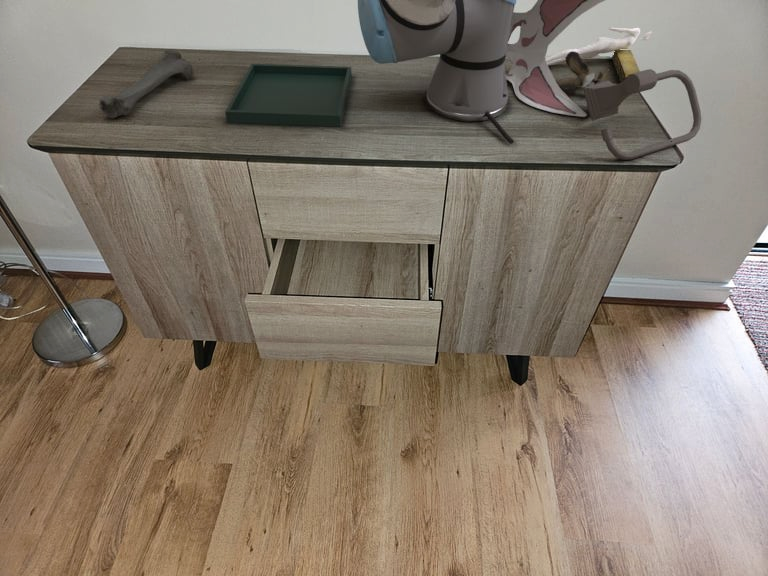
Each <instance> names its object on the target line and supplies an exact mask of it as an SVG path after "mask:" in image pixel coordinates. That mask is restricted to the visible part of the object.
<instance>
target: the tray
mask: <svg viewBox="0 0 768 576" xmlns="http://www.w3.org/2000/svg"><path fill="white" fill-rule="evenodd" d="M352 79H353V77H352V66H337V65H335V66H334V65H306V64H305V65H303V64H272V63H251V64H250V65H249V67H248V69H247V71H246V72H245V75H244V76H243V78H242V80H241V82H240V84H239V85H238V87H237V89H236V91H235V92H234V95H233V96H232V98H231V100H230V101H229V104H228V105H227V107H226V109H225V111H224V114H225V118H226V123H227V124H244V125H246V124H247V125H272V126H273V125H274V126H275V125H276V126H305V127H328V128H329V127H331V128H332V127H333V128H341V127H342V123H343V118H344V114H345V110H346V104H347V101H348V96H349V91H350V86H351V82H352Z"/></svg>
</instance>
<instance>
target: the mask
mask: <svg viewBox="0 0 768 576" xmlns="http://www.w3.org/2000/svg"><path fill="white" fill-rule="evenodd" d="M605 1H606V0H537V1H536V2H535V3H534V5H533V6H532V7H531V9H529V10H527V11H525V12H514V11H513V16H512V22H511V28H510V34H509V40H508V42H509V41H510V38H511V37H512V35H513V33H514V31H515V30H516V29H517V28H518V27H519V28H520V30H519V36H518V40H517V42H515V43H508V45H507V51H506V57H505V59H508V60H510V62H511V64H512V65H511V67H510V69H509V71H506V70H505V74H506V81H509V82H510V83H511V84H512V87H513V90H514V94H515V96H516V97H517V98H518V99H519V100H520V101H522V102H523V103H524V104H527V105H529V106H530V107H533V108H536V109H539V110H543V111H546V112H550V113H553V114H554V113H555V114H560V115H566V116H574V117H580V118H585V117H587V116H588V114H587V112H585V111H584V110H583V109H582V108H581V107H580V106H579V105H578V104H576V103H575V102H574V101H573V100H572V99H571V98H570V97H569V96H568V95H567V94H566V93H565V92H564V91H563V89H562V88H560V87H559V86H558V84H557V83H556V82H557V81H556V79H555V78H554V75H553V73H552V72H551V70H550V67H549V66H548V65H547V63H546V61H545V59H546V55H547V52H548V47H549V46H550V44H552V43H553V42H554V40H555V39H556V38H558V36H559V35H560V34H562V32H563V31H564V30H566V29H567V28H568V27H569V26H570V25H571V24H572V23H573V22H574V21H575V20H577V19H578V18H579V17H580V16H582V15H583V14H584V13H586V12H588V11H589V10H591V9H592V8H594V7H596V6H597V5H599V4H601V3H603V2H605Z"/></svg>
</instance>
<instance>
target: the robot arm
mask: <svg viewBox="0 0 768 576" xmlns="http://www.w3.org/2000/svg"><path fill="white" fill-rule="evenodd" d="M516 4H517V0H357V13H358V21H359V26H360V31H361V35H362V39H363V42H364V45H365V48H366V50H367V52H368V54H369V57H371V58H372V60H373V61H374V62H375V63H377V64H380V65H382V64H384V65H385V64H391V63H393V64H398V63H403V62H407V61H412V60H417V59H423V58H428V57H434V56H439V59H438V62H437V65H436V67H435V70H434V72H433V74H432V77H431V80H430V82H429V84H428V86H427V91H426V104H427V106H428V107H429V109H430V110H432V112H434V113H436V114H438V115H439V116H442V117H445V118H447V119H451V120H454V121H460V122H483V121H487V120H489V121H490V122H491V124H492V125H493V126H494V127H495V128H496V129H497V131H498V132H499V133H500V135H501V136H502V137H503V138H504V140H506V141H507V142H508V144H510V145H512V144H514V142H515V141H514V139H513V138H512V137H511V136H510V135H509V134H508V132H506V130H505V129H504V128H503V126H502V125H501V124H500V123H499V121H497V120H496V118H497V117H499V116H501V115H502V114H503V113H505V112H506V110H507V107H508V102H509V90H508V82H507V81H508V80H506V74H505V71H506V68H505V62H506V51H507V45H508V44H509V41H510V39H509V34H510V28H511V22H512V16H513V12H514V11H515V5H516ZM508 40H509V41H508Z"/></svg>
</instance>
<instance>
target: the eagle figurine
mask: <svg viewBox="0 0 768 576" xmlns="http://www.w3.org/2000/svg"><path fill="white" fill-rule="evenodd" d="M565 58H566V61H565V62H566V65H567V66H568V68H569V69H570V72H571V73H573V74H574V75H576V76H577V77H571V78H562V79H560V80H558V81H556V83H557V84H558V86H559V87H560V89H567V90H575V89H576V88H583V87H586V86H590V84H591V83H594V84H598V83H602V82H603V80H604V79H605V77H606V76H607V75H608V73H609V71H610V68H608V69H606V70H605V72H602V71H600V72H599V73H598V75H597V78H595V72H591V73H590V74H589V72H590V69H589V65H588V64H587V62H585V61H583V59H581V58H580V56H579V53H578V52H577V53H576V52H570V53H569V54H567V56H566V57H565ZM594 84H593V85H594Z"/></svg>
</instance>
